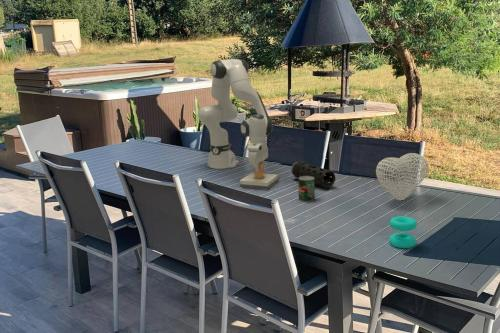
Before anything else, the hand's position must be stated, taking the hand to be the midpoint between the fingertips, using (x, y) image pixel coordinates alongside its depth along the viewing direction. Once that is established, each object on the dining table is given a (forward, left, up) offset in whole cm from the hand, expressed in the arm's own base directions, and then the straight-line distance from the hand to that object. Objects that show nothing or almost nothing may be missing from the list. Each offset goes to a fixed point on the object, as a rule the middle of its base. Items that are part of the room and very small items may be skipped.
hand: (259, 169), depth 285 cm
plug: (0, 0, -4) cm, 4 cm away
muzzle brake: (-10, +27, -9) cm, 30 cm away
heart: (+7, +76, -9) cm, 77 cm away
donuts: (+62, +83, -9) cm, 104 cm away
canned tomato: (+18, +32, -9) cm, 38 cm away
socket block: (0, 0, -8) cm, 8 cm away
